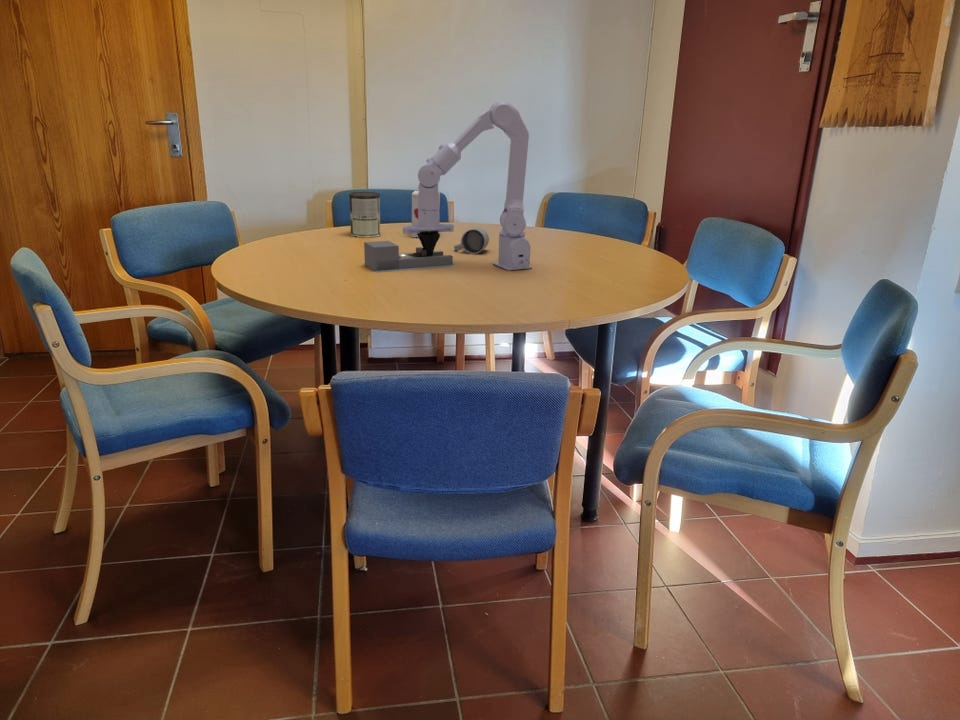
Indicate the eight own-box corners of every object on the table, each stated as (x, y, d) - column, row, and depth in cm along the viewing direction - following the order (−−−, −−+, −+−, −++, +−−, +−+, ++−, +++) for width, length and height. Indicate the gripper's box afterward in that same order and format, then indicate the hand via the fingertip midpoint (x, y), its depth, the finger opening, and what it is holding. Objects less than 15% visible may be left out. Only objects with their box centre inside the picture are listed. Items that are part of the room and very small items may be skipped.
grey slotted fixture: (458, 267, 195) (459, 243, 192) (376, 274, 184) (376, 248, 182) (441, 259, 205) (441, 236, 202) (362, 265, 194) (361, 240, 192)
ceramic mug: (489, 250, 221) (490, 225, 218) (485, 254, 213) (485, 229, 210) (457, 248, 223) (457, 224, 220) (451, 253, 215) (451, 228, 212)
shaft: (426, 264, 194) (426, 249, 193) (394, 266, 190) (393, 252, 189) (421, 261, 198) (421, 247, 196) (389, 263, 194) (388, 249, 192)
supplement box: (410, 238, 237) (410, 193, 232) (414, 233, 246) (414, 190, 241) (437, 238, 237) (437, 194, 232) (439, 234, 245) (440, 191, 240)
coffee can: (344, 234, 240) (343, 192, 235) (370, 231, 247) (369, 191, 242) (360, 238, 233) (358, 195, 228) (386, 236, 239) (385, 194, 234)
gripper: (446, 206, 198) (446, 254, 203) (398, 208, 192) (399, 257, 196) (457, 210, 192) (456, 258, 197) (408, 212, 186) (408, 262, 191)
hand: (428, 258), depth 196 cm, fingers closed
